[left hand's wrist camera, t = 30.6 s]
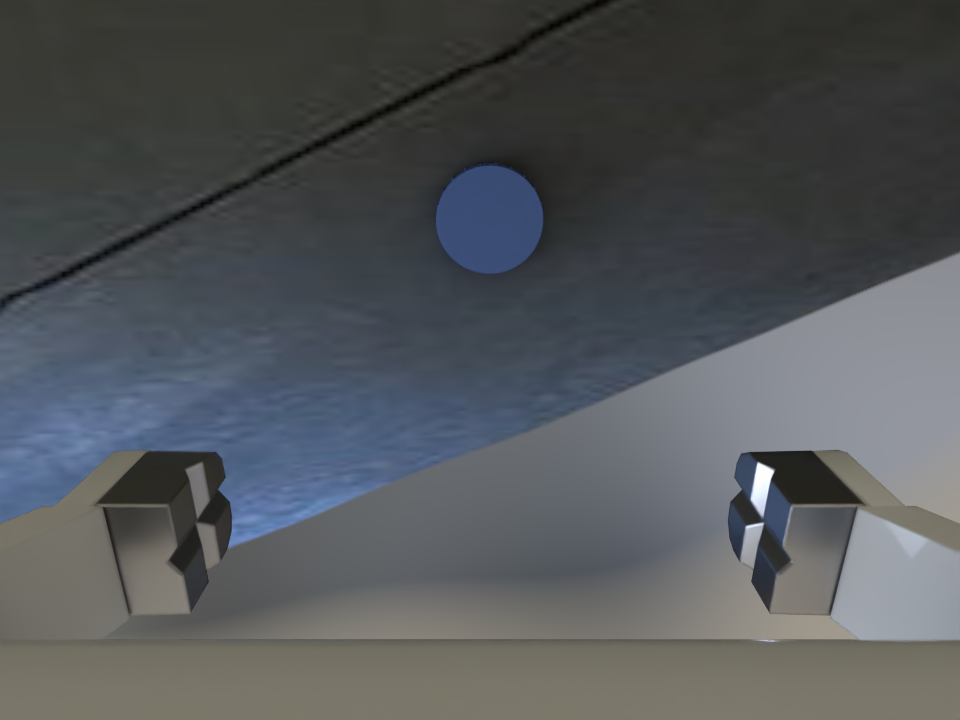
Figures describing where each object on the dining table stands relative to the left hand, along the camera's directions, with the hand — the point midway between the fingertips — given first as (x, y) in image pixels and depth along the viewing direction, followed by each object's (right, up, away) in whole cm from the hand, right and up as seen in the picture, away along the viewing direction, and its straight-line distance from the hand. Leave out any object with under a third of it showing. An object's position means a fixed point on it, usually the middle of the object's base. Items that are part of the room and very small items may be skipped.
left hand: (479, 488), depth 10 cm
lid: (0, +10, +25) cm, 27 cm away
